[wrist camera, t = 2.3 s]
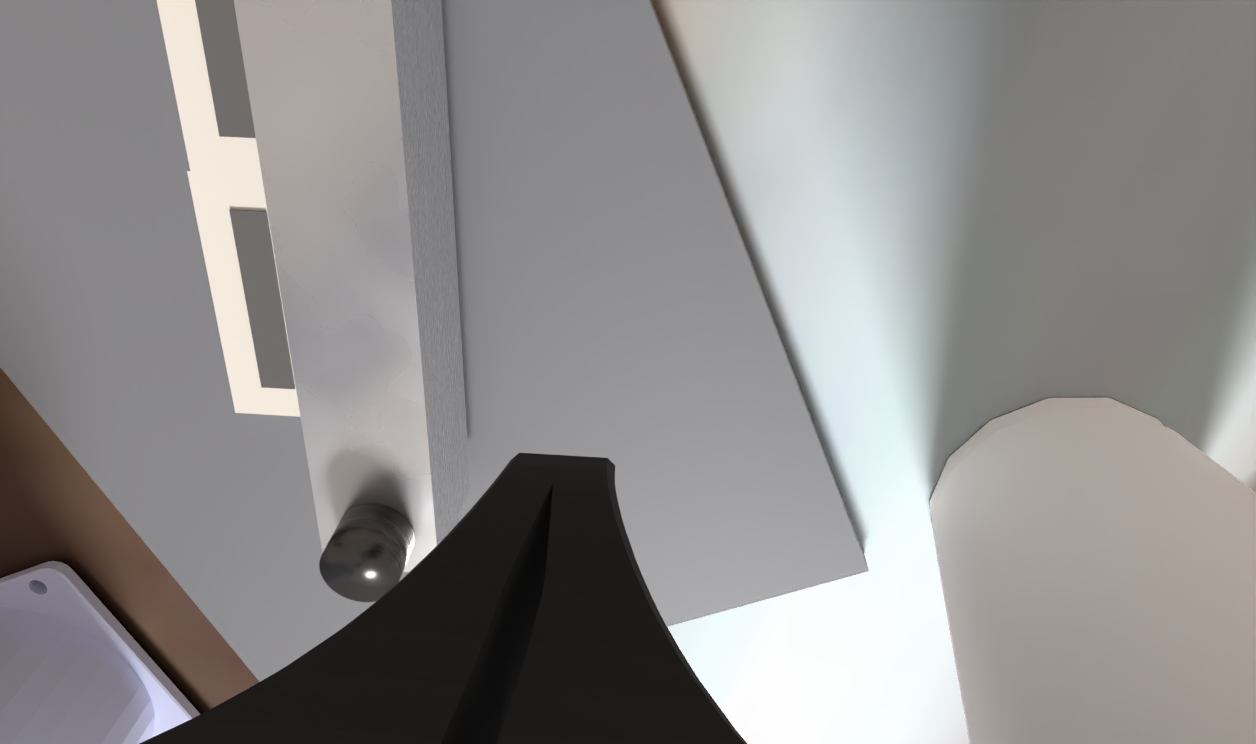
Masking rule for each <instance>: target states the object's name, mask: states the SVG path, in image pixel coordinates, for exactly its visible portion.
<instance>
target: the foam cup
mask: <svg viewBox="0 0 1256 744" xmlns="http://www.w3.org/2000/svg"><path fill="white" fill-rule="evenodd" d="M929 505H930V512H931V519H932V526H933V533H934V540H935V547H936V554H937V561H938V567H939V572H940V578H941V584H942V590H943V595H944V601H945V607H946V612H947V618H948V624H949V630H950V635H951V641H952V647H953V653H954V658H955V664H956V670H957V675H958V681H959V687H960V693H961V698H962V704H963V710H964V715H965V721H966V727H967V733H968V738H969V744H1256V493H1255V492H1254V491H1253V490H1252V489H1250V488H1249V487H1248V486H1246V485H1245V484H1244V483H1242V482H1241V481H1240V480H1238V479H1237V478H1236V477H1234V476H1233V475H1232V474H1231V473H1229V472H1228V471H1227V470H1225V469H1224V468H1223V467H1221V466H1220V465H1219V464H1217V463H1216V462H1215V461H1213V460H1212V459H1211V458H1210V457H1208V456H1207V455H1206V454H1204V453H1203V452H1202V451H1200V450H1199V449H1198V448H1196V447H1195V446H1194V445H1192V444H1191V443H1190V442H1189V441H1187V440H1186V439H1185V438H1183V437H1182V436H1181V435H1179V434H1178V433H1177V432H1175V431H1174V430H1172V429H1170V428H1167V427H1165V426H1164V425H1163V424H1162V423H1161V422H1160V421H1159V420H1158V419H1157V418H1155V417H1152V416H1150V415H1148V414H1145V413H1143V412H1141V411H1139V410H1136V409H1134V408H1132V407H1129V406H1127V405H1125V404H1123V403H1120V402H1118V401H1116V400H1113V399H1111V398H1109V397H1105V398H1047V399H1044V400H1042V401H1039V402H1037V403H1034V404H1031V405H1029V406H1026V407H1024V408H1021V409H1018V410H1016V411H1013V412H1010V413H1008V414H1005V415H1003V416H1000V417H997V418H995V419H992V420H990V421H989V422H988V423H987V424H986V425H985V426H983V427H982V428H981V429H980V430H979V431H978V432H977V433H976V434H974V435H973V436H972V437H971V438H970V439H969V440H968V441H967V442H966V443H964V444H963V445H962V446H961V447H960V448H959V449H958V450H957V451H955V452H954V453H953V454H952V455H951V456H950V457H949V458H948V460H947V462H946V464H945V467H944V469H943V471H942V474H941V476H940V478H939V481H938V483H937V485H936V488H935V490H934V492H933V495H932V497H931V499H930V502H929Z"/></svg>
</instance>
